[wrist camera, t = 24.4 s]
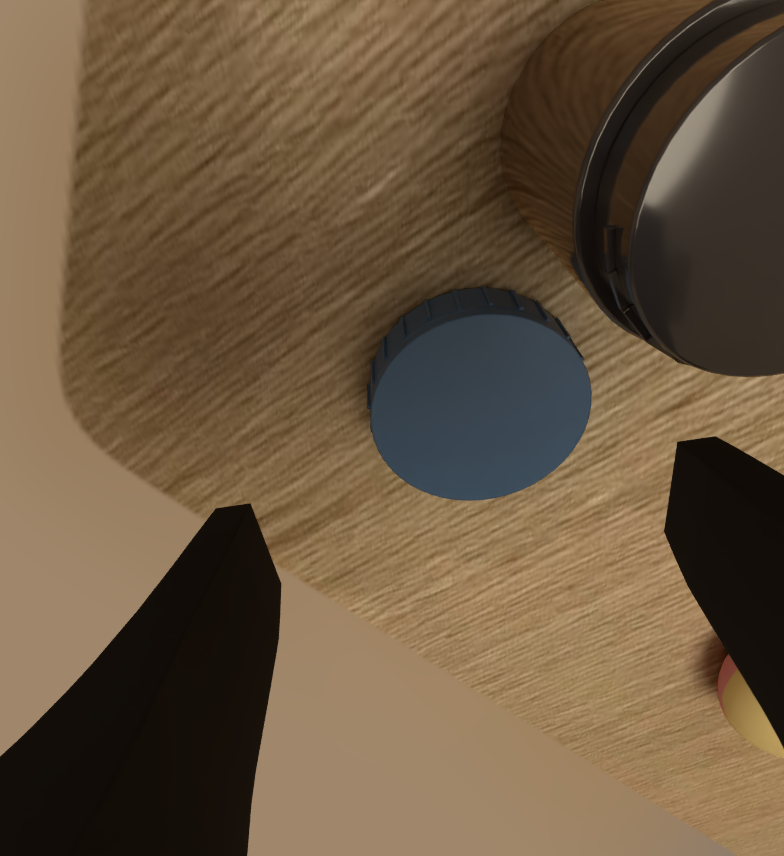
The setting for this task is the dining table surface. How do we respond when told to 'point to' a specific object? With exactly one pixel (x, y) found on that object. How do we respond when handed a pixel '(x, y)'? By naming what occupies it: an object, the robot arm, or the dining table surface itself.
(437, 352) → the lid
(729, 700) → the donut
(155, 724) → the robot arm
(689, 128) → the jar
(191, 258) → the dining table surface
